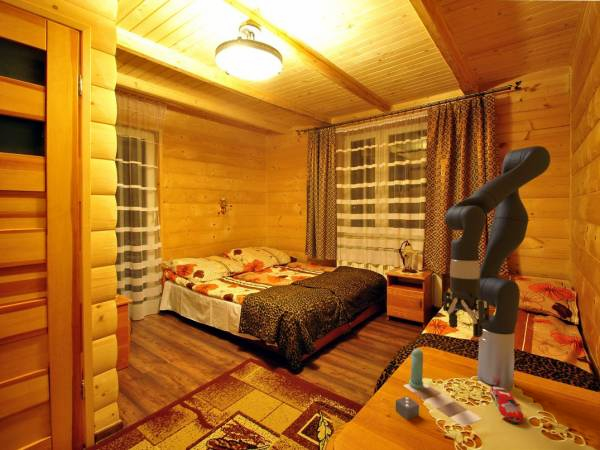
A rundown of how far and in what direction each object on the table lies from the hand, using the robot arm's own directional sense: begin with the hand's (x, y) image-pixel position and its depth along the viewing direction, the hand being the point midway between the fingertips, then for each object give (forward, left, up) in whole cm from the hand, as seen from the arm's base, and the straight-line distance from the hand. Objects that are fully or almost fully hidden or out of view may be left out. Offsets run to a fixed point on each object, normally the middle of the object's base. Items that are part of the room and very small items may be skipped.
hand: (464, 331), depth 89 cm
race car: (-5, +9, -19) cm, 22 cm away
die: (+22, 0, -19) cm, 29 cm away
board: (+10, 0, -19) cm, 21 cm away
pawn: (+10, -8, -18) cm, 22 cm away
